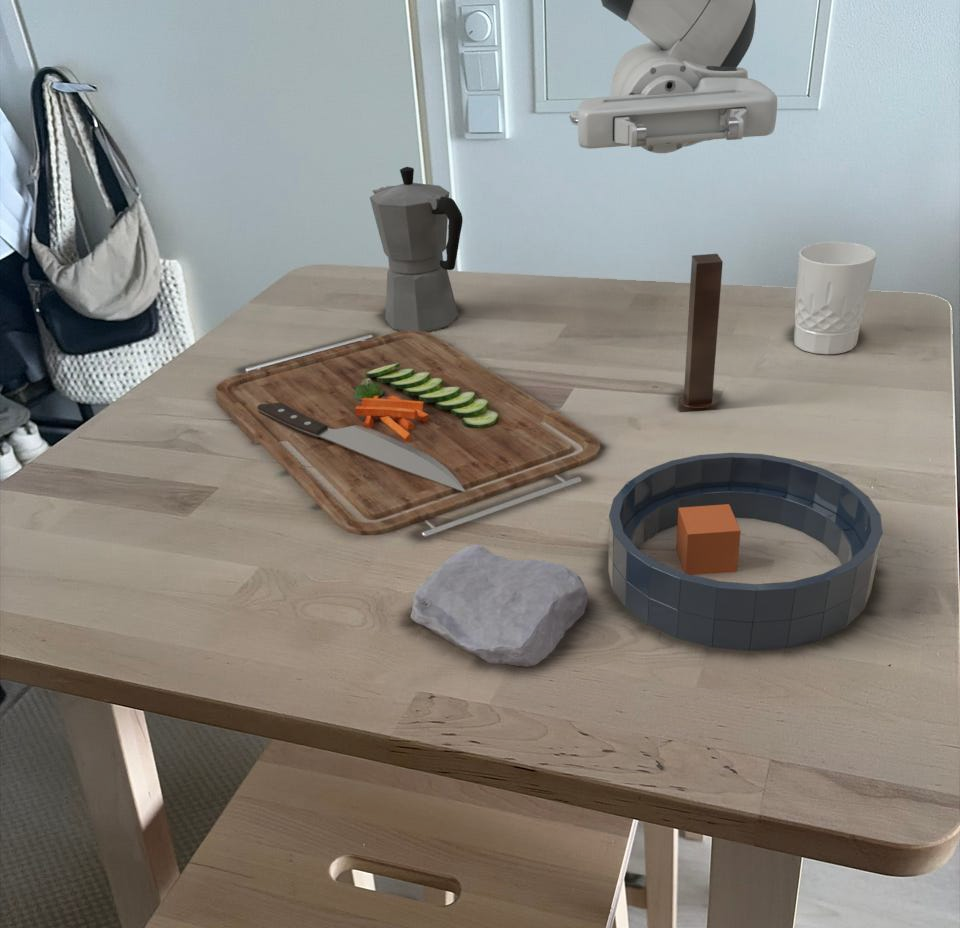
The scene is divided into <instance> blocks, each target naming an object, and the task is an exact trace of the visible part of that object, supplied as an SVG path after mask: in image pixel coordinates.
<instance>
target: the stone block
mask: <svg viewBox="0 0 960 928" xmlns="http://www.w3.org/2000/svg"><path fill="white" fill-rule="evenodd" d="M588 597H589V592H588V589H587V588H586V586H585V584H584V581H583V580H582V577H581V576H580V575H579V573H577V571H574V570H572V569H569V568H568V567H565V566H564V565H563V564H559V563H555V562H551V561H544V560H538V559H535V558H533V559H525V560H517V559H516V560H515V559H510V558H507V557H506V556H503V555H499V554H496V553H494V552H492V551H490V550H489V549H488V548H486V547H484V545H481V544H471V545H468V546H466V547H465V548H462V549H461V550H460V551H458V552H457V553H454V554H452V555H451V556H450V557H449V558H447V559H446V560H445V561H444V562H442V563H441V564H440V565H439V566H437V568H436V569H435V570H433V571H432V572H431V573H430V574H429V575H428V576H427V577H425V579H424V580H423V582H422V583H421V585H420V586H419V587H418V588H417V589H416V591H415V592H414V594H413V595H412V597H411V598H412V599H411V600H412V601H411V603H412V604H411V605H412V610H411V613H410V618H411V620H412V622H415V623H416V624H418V625H421V626H423V627H425V628H427V629H429V630H430V631H431V632H432V633H434V634H436V635H437V636H440V637H442V638H443V639H445V640H447V641H448V642H449V643H451V644H453V645H454V646H456V647H457V648H460V649H462V650H464V651H466V652H468V653H469V654H471V655H473V656H476V657H479V658H480V659H481V660H483V661H485V662H487V663H488V664H503V665H510V666H516V667H524V668H529V667H533V666H536V665H538V664H539V663H540V662H542V661H543V660H545V659H546V658H547V657H548V656H549V654H551V653H552V652H553V651H554V650H555V649H556V646H557V645H558V644H559V643H560V641H561V640H562V639H563V637H565V633H566V631H568V630H569V629H570V628H571V627H572V626H573V625H574V624H575V623H576V622H577V621H578V620H579V619H580V618H582V617H583V615H585V612H586V609H587V604H588V599H589V598H588Z"/></svg>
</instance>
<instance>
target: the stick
mask: <svg viewBox="0 0 960 928" xmlns="http://www.w3.org/2000/svg"><path fill="white" fill-rule="evenodd" d="M723 264H724V262H723V260H722V258H721V257H720V255H719V254H718V253H708V254H693V255H691V265H690V266H691V267H690V285H689V300H688V318H687V335H686V351H685V352H686V353H685V371H684V384H683V385H684V387H683V393H681V394H680V395H679V396H678V397H677V403H676V404H677V405H676V408H677V411H679V413H691V412H705V411H716V410H718V405H719V398H718V396H717V395H716V394H714V384H715V383H714V381H715V369H716V356H717V342H718V341H717V340H718V331H719V330H718V328H719V315H720V303H721V291H722V276H723Z"/></svg>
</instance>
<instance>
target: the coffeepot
mask: <svg viewBox="0 0 960 928" xmlns="http://www.w3.org/2000/svg"><path fill="white" fill-rule="evenodd" d="M414 172H415V168H414V167H410V166H405V167H404V166H403V168H400V169H399V173H400V176H401V180H402V183H401V184H396V185H388V186H385V187H384V186H382V187H379V188H377V189H373V190H372V193H373V194H372V195H371V196H369V200H370V205H371V209H372V212H373V215H374V216H373V217H374V219H375V223H376V228H377V231H378V236H379V237H380V238H379V239H380V243H381V245H382V250H383V253H384V254H385V256H386V257H387V258H388V259H387V260H388V270H387V273H386V291H385V292H386V293H385V294H386V295H385V298H386V299H385V315H384V316H385V317H384V319H385V321H386V323H387V325H388V326H389V327H390V328H391V329H393V330H395V331H396V332H400V331H409V330H417V331H425V332H427V333H430V332H434V331H438V330H441V329H444V328H445V329H446V328H447V327H449V326H451V325H452V324H453V323H454V322H455V321H456V319H457V318H458V317H459V312H458V308H457V307H458V306H457V304H456V300H455V295H454V291H453V287H452V284H451V280H450V276H449V272H448V271H453V270H454V269H455V268H456V263H457V258H458V253H459V252H458V251H459V246H460V238H461V232H462V229H463V223H464V222H463V220H464V219H463V215H462V212H461V210H460V208H459V207H458V204H457V203H456V202H455V199H453V198H451V197H450V191H448V190H447V189H445V188H444V187H443V186H441V185H438V184H427V183H418V182H414V174H415V173H414ZM445 251H446V260H444V254H443V253H444V252H445Z"/></svg>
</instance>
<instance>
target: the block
mask: <svg viewBox="0 0 960 928" xmlns="http://www.w3.org/2000/svg"><path fill="white" fill-rule="evenodd" d="M741 531H742V530H741V528H740V525H739V523H738V520H737V518H735V516H734V514H733V512H732V510H731V507H730V505H729V504H724V505H710V506H696V507H682V508H678V523H677V525H676V539H675V540H676V543H675V549H676V553H677V556H678V559H679V561H680V564H681V565H680V566H681V567H682V570H683V571H682V572H683V573H685V574H690V575H694V576H698V575H709V574H710V575H711V574H723V573H724V574H725V573H736V572H737V570H738V560H739V551H740V542H741Z"/></svg>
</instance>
